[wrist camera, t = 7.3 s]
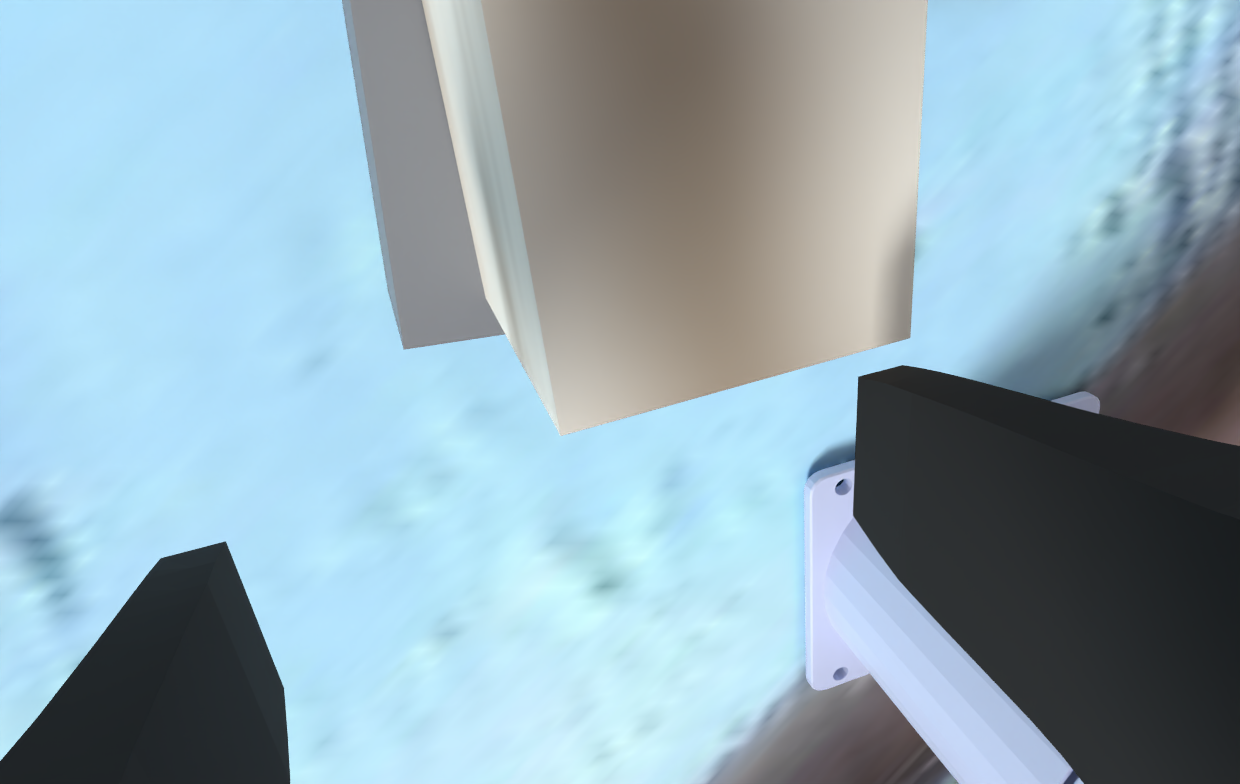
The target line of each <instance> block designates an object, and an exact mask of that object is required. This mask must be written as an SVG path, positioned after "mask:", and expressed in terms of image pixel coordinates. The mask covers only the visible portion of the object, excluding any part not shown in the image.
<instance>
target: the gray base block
mask: <svg viewBox="0 0 1240 784" xmlns="http://www.w3.org/2000/svg"><path fill="white" fill-rule="evenodd" d="M342 4H343V10H344V16H345V23H346V29H347V35H348V41H349V48H350V54H351V60H352V67H353V73H354V79H355V86H356V92H357V98H358V105H359V111H360V117H361V124H362V130H363V136H364V143H365V149H366V155H367V162H368V168H369V174H370V181H371V187H372V193H373V200H374V206H375V212H376V219H377V225H378V231H379V237H380V244H381V250H382V256H383V263H384V269H385V275H386V282H387V288H388V293H389V297H390V300H391V304H392V308H393V311H394V315H395V319H396V322H397V326H398V330H399V334H400V337H401V341H402V345H403V348H404V349H410V348H417V347H424V346H430V345H437V344H444V343H450V342H457V341H464V340H470V339H477V338H484V337H490V336H497V335H503V334H505V333H504V331H503V329H502V327H501V325H500V324H499V322H498V320H497V318H496V316H495V314H494V312H493V311H492V309H491V307H490V305H489V303H488V301H487V300H486V297H485V293H484V288H483V283H482V279H481V274H480V269H479V265H478V260H477V256H476V251H475V246H474V242H473V237H472V232H471V228H470V223H469V218H468V214H467V209H466V204H465V200H464V195H463V190H462V186H461V181H460V176H459V172H458V167H457V162H456V158H455V153H454V148H453V144H452V139H451V134H450V130H449V125H448V120H447V116H446V111H445V106H444V102H443V97H442V92H441V88H440V83H439V78H438V74H437V69H436V64H435V60H434V55H433V50H432V46H431V41H430V36H429V32H428V27H427V22H426V18H425V13H424V8H423V4H422V0H342Z"/></svg>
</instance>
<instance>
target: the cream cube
mask: <svg viewBox="0 0 1240 784" xmlns="http://www.w3.org/2000/svg"><path fill="white" fill-rule="evenodd" d="M422 4H423V8H424V13H425V18H426V22H427V27H428V32H429V36H430V41H431V46H432V50H433V55H434V60H435V64H436V69H437V74H438V78H439V83H440V88H441V92H442V97H443V102H444V106H445V111H446V116H447V120H448V125H449V130H450V134H451V139H452V144H453V148H454V153H455V158H456V162H457V167H458V172H459V176H460V181H461V186H462V190H463V195H464V200H465V204H466V209H467V214H468V218H469V223H470V228H471V232H472V237H473V242H474V246H475V251H476V256H477V260H478V265H479V269H480V274H481V279H482V283H483V288H484V293H485V297H486V300H487V301H488V303H489V305H490V307H491V309H492V311H493V312H494V314H495V316H496V318H497V320H498V322H499V324H500V325H501V327H502V329H503V331H504V333H505V335H506V336H507V338H508V340H509V342H510V344H511V346H512V347H513V349H514V351H515V353H516V355H517V357H518V358H519V360H520V362H521V364H522V366H523V368H524V369H525V371H526V373H527V375H528V377H529V379H530V380H531V382H532V384H533V386H534V388H535V390H536V392H537V393H538V395H539V397H540V399H541V401H542V403H543V404H544V406H545V408H546V410H547V412H548V414H549V415H550V417H551V419H552V421H553V423H554V425H555V426H556V428H557V430H558V432H559V434H560V436H563V435H566V434H570V433H573V432H577V431H580V430H584V429H587V428H591V427H595V426H598V425H602V424H605V423H609V422H612V421H616V420H620V419H623V418H627V417H630V416H634V415H637V414H641V413H644V412H648V411H652V410H655V409H659V408H662V407H666V406H669V405H673V404H677V403H680V402H684V401H687V400H691V399H694V398H698V397H701V396H705V395H709V394H712V393H716V392H719V391H723V390H726V389H730V388H734V387H737V386H741V385H744V384H748V383H751V382H755V381H758V380H762V379H766V378H769V377H773V376H776V375H780V374H783V373H787V372H791V371H794V370H798V369H801V368H805V367H808V366H812V365H815V364H819V363H823V362H826V361H830V360H833V359H837V358H840V357H844V356H848V355H851V354H855V353H858V352H862V351H865V350H869V349H873V348H876V347H880V346H883V345H887V344H890V343H894V342H897V341H901V340H905V339H908V338H910V332H911V313H912V294H913V274H914V255H915V236H916V216H917V197H918V178H919V158H920V139H921V120H922V100H923V81H924V62H925V42H926V23H927V4H928V0H422Z"/></svg>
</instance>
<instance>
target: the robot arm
mask: <svg viewBox="0 0 1240 784" xmlns="http://www.w3.org/2000/svg"><path fill="white" fill-rule="evenodd" d="M1099 410H1100V401H1099V399H1098V397H1096V396H1094V395H1092V394H1090V393H1088V392H1086V391H1083V392H1078V393H1075V394H1071V395H1068V396H1065V397H1061V398H1058V399H1055V400H1051V401H1048V400H1045V399H1041V398H1037V397H1034V396H1030V395H1026V394H1023V393H1019V392H1015V391H1012V390H1008V389H1004V388H1000V387H997V386H993V385H989V384H986V383H982V382H978V381H974V380H970V379H966V378H962V377H958V376H954V375H950V374H946V373H941V372H937V371H932V370H927V369H922V368H916V367H910V366H903V365H902V366H898V367H894V368H890V369H887V370H883V371H879V372H875V373H871V374H867V375H864V376H860V377H858V399H857V423H856V448H855V460H852V461H849V462H845V463H842V464H839V465H835V466H832V467H829V468H826V469H822V470H819V471H817V472H815V473H814V474H813V475H812V476H810V477H809V478H808V480H807V482H806V484H805V488H804V543H805V637H806V678H807V681H808V682H809V684H810V685H811V686H812V688H814V689H815V690H820V691H821V690H826V689H829V688H831V687H834V686H837V685H840V684H842V683H845V682H848V681H850V680H853V679H856V678H859V677H861V676H864V675H867V674H869V673H870V674H871V675H872V676H873V678H874V679H875V680H876V681H877V683H878V684H879V685H880V686H881V688H882V689H883V690H884V691H885V693H886V694H887V695H888V696H889V698H890V699H891V700H892V701H893V702H894V704H895V705H896V706H897V707H898V709H899V710H900V711H901V712H902V714H903V715H904V716H905V717H906V719H907V720H908V721H909V722H910V724H911V725H912V726H913V727H914V729H915V730H916V731H917V732H918V734H919V735H920V736H921V737H922V738H923V740H924V741H925V742H926V743H927V745H928V746H929V747H930V748H931V750H932V751H933V752H934V753H935V755H936V756H937V757H938V758H939V760H940V761H941V762H942V763H943V765H944V766H945V767H946V768H947V769H948V771H949V772H950V773H951V774H952V776H953V777H954V778H955V779H956V781H957V782H958V783H959V784H1240V446H1236V445H1231V444H1226V443H1221V442H1216V441H1211V440H1207V439H1202V438H1198V437H1194V436H1189V435H1185V434H1180V433H1176V432H1172V431H1167V430H1163V429H1158V428H1154V427H1150V426H1145V425H1141V424H1137V423H1133V422H1129V421H1125V420H1121V419H1117V418H1113V417H1109V416H1105V415H1101V414H1099ZM843 479H844V481H843V482H842V483H841V485H839V486H838V487H836V485H837V484H838V482H839V481H841V480H843ZM835 487H836V488H835ZM0 784H290V769H289V752H288V736H287V723H286V710H285V697H284V687H283V685H282V682H281V680H280V677H279V675H278V672H277V670H276V667H275V665H274V662H273V660H272V657H271V655H270V652H269V650H268V647H267V644H266V642H265V639H264V637H263V634H262V632H261V629H260V627H259V624H258V622H257V619H256V617H255V614H254V612H253V609H252V607H251V604H250V602H249V599H248V596H247V594H246V591H245V589H244V586H243V584H242V581H241V579H240V576H239V574H238V571H237V569H236V566H235V564H234V561H233V559H232V556H231V554H230V551H229V549H228V546H227V543H226V542H222V543H218V544H214V545H210V546H207V547H203V548H199V549H195V550H191V551H187V552H183V553H180V554H176V555H172V556H168V557H164V558H161V559H160V560H159V561H158V562H157V564H156V565H155V566H154V567H153V568H152V570H151V571H150V572H149V573H148V575H147V576H146V577H145V578H144V580H143V581H142V582H141V584H140V585H139V586H138V588H137V589H136V590H135V591H134V593H133V594H132V595H131V597H130V598H129V599H128V601H127V602H126V603H125V605H124V606H123V607H122V609H121V610H120V611H119V613H118V614H117V615H116V617H115V618H114V619H113V621H112V622H111V623H110V625H109V626H108V627H107V629H106V630H105V631H104V633H103V634H102V635H101V637H100V638H99V639H98V641H97V642H96V643H95V644H94V646H93V647H92V648H91V650H90V651H89V652H88V653H87V655H86V656H85V657H84V659H83V660H82V661H81V662H80V664H79V665H78V666H77V668H76V669H75V670H74V671H73V673H72V674H71V675H70V677H69V678H68V679H67V680H66V682H65V683H64V684H63V686H62V687H61V688H60V689H59V691H58V692H57V693H56V694H55V696H54V697H53V698H52V700H51V701H50V702H49V703H48V705H47V706H46V707H45V709H44V710H43V711H42V712H41V714H40V715H39V716H38V717H37V719H36V720H35V721H34V722H33V723H32V725H31V726H30V727H29V728H28V729H27V731H26V732H25V733H24V734H23V735H22V736H21V738H20V739H19V740H18V741H17V742H16V743H15V745H14V746H13V747H12V748H11V749H10V750H9V752H8V753H7V754H6V755H5V756H4V757H3V759H2V760H1V761H0Z"/></svg>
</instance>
